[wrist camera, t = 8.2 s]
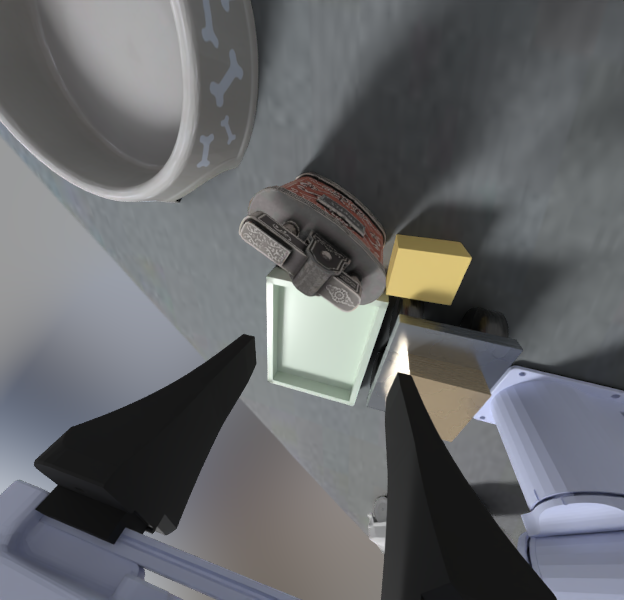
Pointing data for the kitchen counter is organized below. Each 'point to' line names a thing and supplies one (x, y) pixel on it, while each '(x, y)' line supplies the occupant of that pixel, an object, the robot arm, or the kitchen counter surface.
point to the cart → (444, 362)
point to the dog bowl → (130, 90)
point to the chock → (426, 269)
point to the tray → (318, 340)
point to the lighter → (319, 239)
